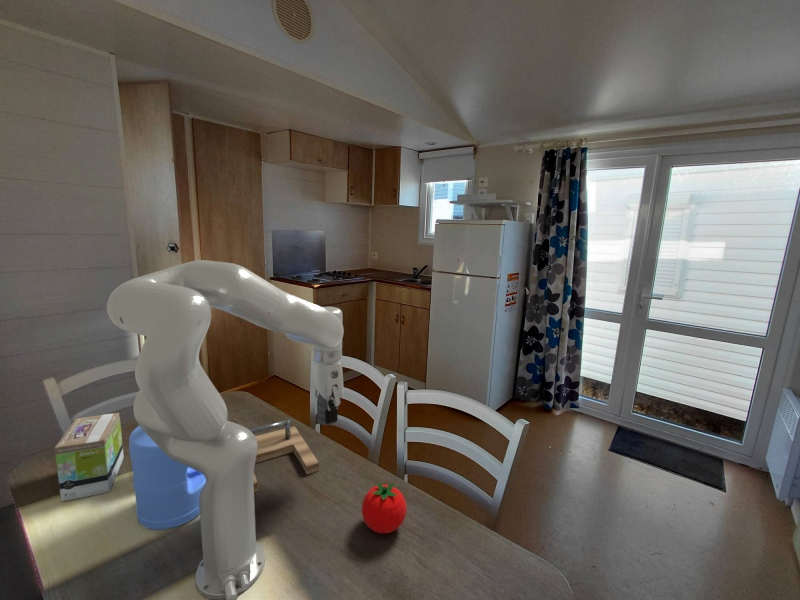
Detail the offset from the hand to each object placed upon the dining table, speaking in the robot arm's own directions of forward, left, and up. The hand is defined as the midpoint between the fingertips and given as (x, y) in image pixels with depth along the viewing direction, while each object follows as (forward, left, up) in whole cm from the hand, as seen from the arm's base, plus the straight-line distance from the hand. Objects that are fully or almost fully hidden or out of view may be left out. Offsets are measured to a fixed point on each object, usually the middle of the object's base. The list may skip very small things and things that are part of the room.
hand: (327, 416), depth 100 cm
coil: (0, 0, -1) cm, 1 cm away
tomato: (-24, -4, -17) cm, 30 cm away
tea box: (+28, +54, -18) cm, 63 cm away
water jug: (+6, +36, -17) cm, 41 cm away
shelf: (+13, +12, -17) cm, 24 cm away
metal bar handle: (+17, +12, -15) cm, 25 cm away
